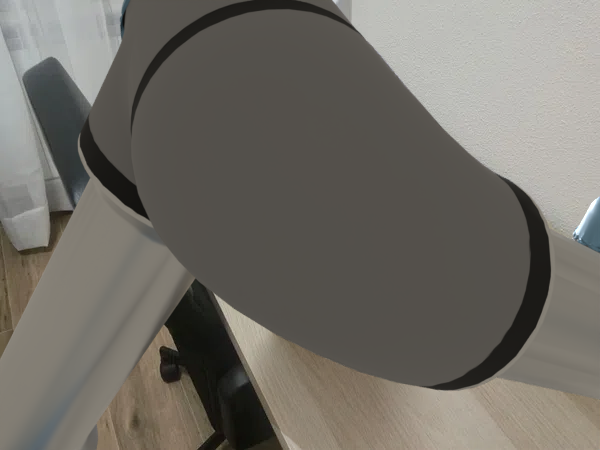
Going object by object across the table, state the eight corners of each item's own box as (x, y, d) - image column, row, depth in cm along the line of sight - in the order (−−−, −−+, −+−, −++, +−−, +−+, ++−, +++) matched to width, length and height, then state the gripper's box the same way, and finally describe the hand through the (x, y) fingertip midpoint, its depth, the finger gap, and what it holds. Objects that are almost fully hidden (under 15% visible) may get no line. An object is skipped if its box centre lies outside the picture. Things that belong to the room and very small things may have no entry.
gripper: (433, 355, 58) (276, 251, 69) (517, 259, 69) (370, 183, 81) (448, 308, 53) (276, 204, 64) (536, 213, 64) (376, 139, 76)
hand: (328, 192), depth 72 cm, fingers closed on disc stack, 7 cm apart
